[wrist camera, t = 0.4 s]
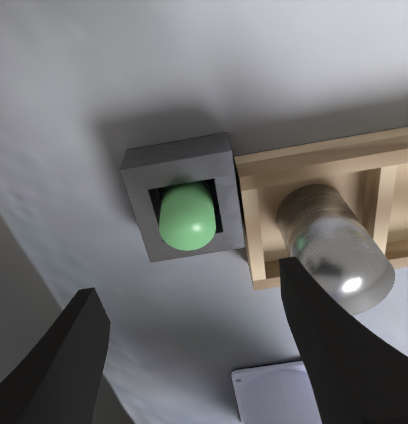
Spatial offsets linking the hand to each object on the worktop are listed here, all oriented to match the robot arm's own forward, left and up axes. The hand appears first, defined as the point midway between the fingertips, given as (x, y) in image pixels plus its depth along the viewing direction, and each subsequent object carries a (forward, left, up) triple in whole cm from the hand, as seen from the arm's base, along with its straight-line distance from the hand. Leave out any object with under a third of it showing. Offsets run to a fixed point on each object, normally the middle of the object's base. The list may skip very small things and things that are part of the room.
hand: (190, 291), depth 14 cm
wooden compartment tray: (-3, -10, -8) cm, 14 cm away
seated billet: (-3, -7, -7) cm, 10 cm away
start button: (0, 0, -8) cm, 8 cm away
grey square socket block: (0, 0, -8) cm, 8 cm away
